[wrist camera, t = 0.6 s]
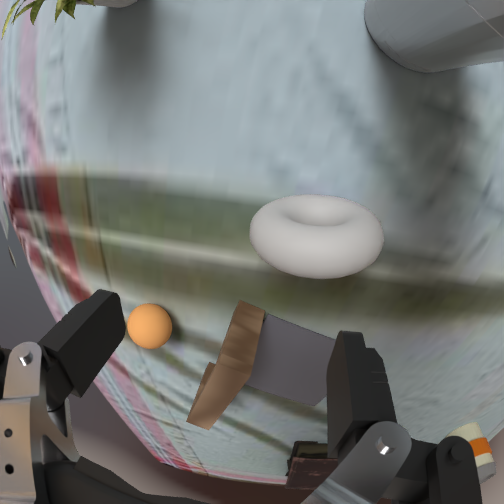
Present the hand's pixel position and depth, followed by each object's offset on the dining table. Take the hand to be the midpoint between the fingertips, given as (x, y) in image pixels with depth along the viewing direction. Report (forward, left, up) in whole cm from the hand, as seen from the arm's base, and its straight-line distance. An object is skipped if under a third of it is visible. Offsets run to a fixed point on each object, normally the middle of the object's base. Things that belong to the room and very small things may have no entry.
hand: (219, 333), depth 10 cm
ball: (+20, -7, -15) cm, 26 cm away
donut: (0, +4, -18) cm, 18 cm away
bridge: (+20, +3, -18) cm, 27 cm away
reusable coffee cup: (+28, +61, -18) cm, 69 cm away
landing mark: (+20, +12, -18) cm, 29 cm away
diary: (+49, +36, -18) cm, 63 cm away
